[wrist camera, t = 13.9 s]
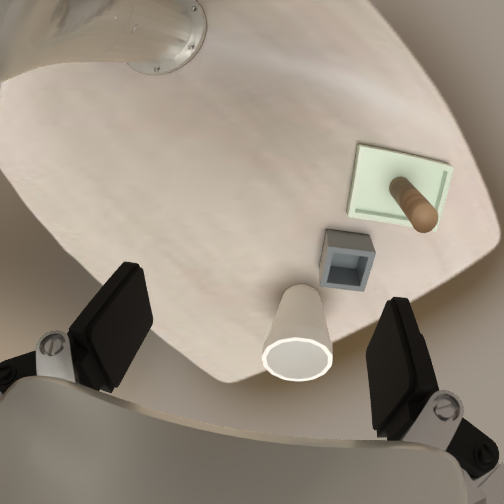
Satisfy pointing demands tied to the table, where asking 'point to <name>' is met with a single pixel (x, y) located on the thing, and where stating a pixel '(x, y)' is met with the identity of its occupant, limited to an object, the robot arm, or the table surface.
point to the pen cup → (346, 260)
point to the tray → (380, 176)
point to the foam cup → (298, 337)
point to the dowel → (414, 205)
